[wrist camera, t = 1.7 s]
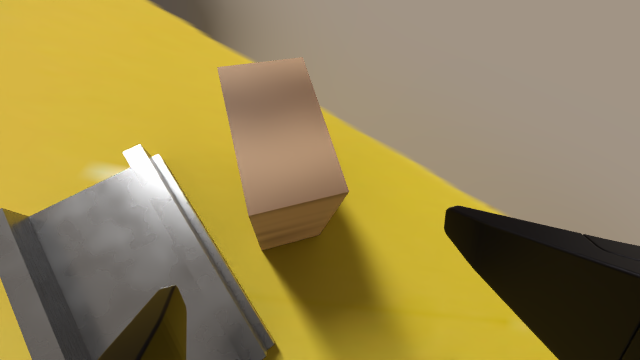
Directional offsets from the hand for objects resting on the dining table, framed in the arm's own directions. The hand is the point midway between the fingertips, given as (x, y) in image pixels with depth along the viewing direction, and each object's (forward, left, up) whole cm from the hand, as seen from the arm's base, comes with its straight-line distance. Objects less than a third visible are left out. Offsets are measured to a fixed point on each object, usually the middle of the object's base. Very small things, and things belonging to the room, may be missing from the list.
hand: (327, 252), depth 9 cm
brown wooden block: (+6, -4, -13) cm, 14 cm away
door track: (+8, +7, -12) cm, 16 cm away
